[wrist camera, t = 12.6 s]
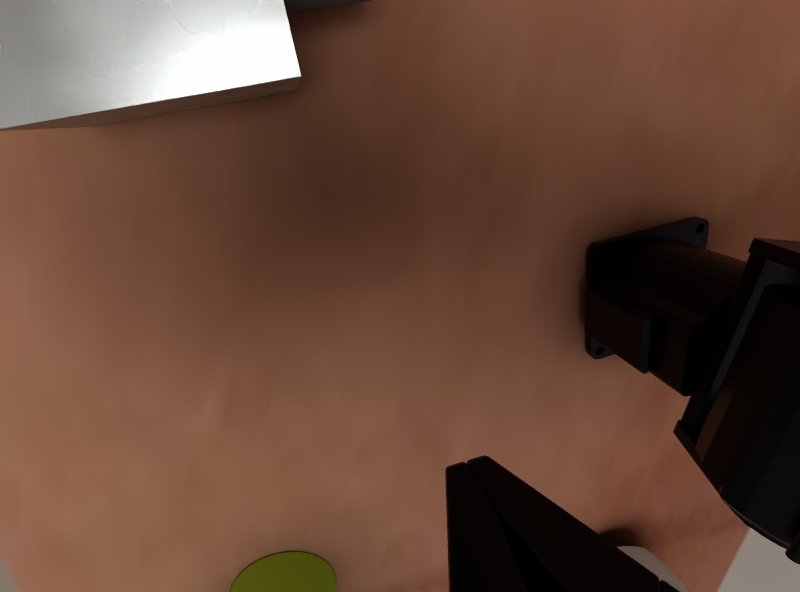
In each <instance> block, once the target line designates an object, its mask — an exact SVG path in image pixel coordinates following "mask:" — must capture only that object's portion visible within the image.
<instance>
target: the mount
mask: <svg viewBox="0 0 800 592" xmlns="http://www.w3.org/2000/svg"><path fill="white" fill-rule="evenodd" d="M300 79H301V73H300V69H299V65H298V60H297V56H296V52H295V48H294V43H293V39H292V35H291V31H290V27H289V22H288V18H287V14H286V10H285V5H284V1H283V0H0V131H6V130H29V129H52V128H74V127H95V126H101V125H107V124H112V123H118V122H123V121H129V120H134V119H140V118H146V117H151V116H157V115H162V114H168V113H174V112H179V111H185V110H190V109H196V108H201V107H207V106H213V105H218V104H224V103H229V102H235V101H240V100H246V99H252V98H257V97H263V96H268V95H274V94H280V93H285V92H291V91H296V90H298V86H299V82H300Z"/></svg>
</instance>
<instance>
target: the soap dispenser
mask: <svg viewBox="0 0 800 592" xmlns="http://www.w3.org/2000/svg"><path fill="white" fill-rule="evenodd" d="M230 592H337V590H336V580H335V574H334V571H333V569H332V567H331V566H330V565H329V564H328V563H327V562H326V561H325V560H324V559H322V558H320V557H318V556H316V555H313V554H309V553H304V552H284V553H279V554H274V555H271V556H268V557H265V558H263V559H260V560H258V561H257V562H255V563H253V564H251V565H250V566H249V567H247V568H246V569H245V570H244V571H243V572H241V574H240V575H239V576H238V577H237V578H236V580H235V581H234V583H233V585H232V588H231V591H230Z"/></svg>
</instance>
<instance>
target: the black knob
mask: <svg viewBox="0 0 800 592" xmlns="http://www.w3.org/2000/svg"><path fill="white" fill-rule="evenodd" d="M283 1H284V5H285V8H286V11H287V13H289V12H296V11H302V10H309V9H315V8H322V7H328V6H335V5H342V4H348V3H355V2H361V1H368V0H283Z"/></svg>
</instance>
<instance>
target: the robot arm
mask: <svg viewBox="0 0 800 592" xmlns="http://www.w3.org/2000/svg"><path fill="white" fill-rule="evenodd" d="M697 226H698V227H697ZM696 227H697V229H696ZM708 229H709V223H708V221H707V220H706V219H704V218H700V217H693V218H689V219H685V220H681V221H678V222H674V223H670V224H666V225H662V226H658V227H654V228H650V229H646V230H642V231H638V232H634V233H630V234H626V235H623V236H619V237H615V238H611V239H607V240H603V241H599V242H596V243H594V244H592V245H591V246H590V247H589V249H588V252H587V289H586V333H587V349H586V350H587V353H588V354H589V355H590V356H591V357H593V358H594V359H600V358H604V357H607V356H611V355H614V354H617V355H618V356H619V357H621V358H622V359H623V360H625V361H626V362H628V363H629V364H630V365H632V366H633V367H634V368H636V369H637V370H639V371H640V372H642V373H644V374H645V373H648V372H650V373H652V374H653V375H654V376H656V377H657V378H659V379H660V380H661V381H663V382H664V383H666V384H667V385H669V386H670V387H671V388H673V389H674V390H676V391H677V392H678V393H680V394H681V395H683V396H690V395H691V397H690V399H689V402H688V404H687V406H686V409H685V411H684V414H683V416H682V418H681V420H678V421H677V424H676V426H675V429H674V431H673V432H674V434H675V435H676V437H677V438H678V439H679V441H680V442H681V443H682V445H683V446H684V447H685V449H686V450H687V451H688V453H689V454H690V455H691V457H692V458H693V460H694V461H695V462H696V464H697V465H698V466H699V468H700V469H701V470H702V472H703V473H704V474H705V476H706V477H707V478H708V480H709V481H710V482H711V484H712V485H713V486H714V488H715V489H716V490H717V492H718V493H719V495H720V497H721V498H722V500H723V501H724V502H725V503H726V504H727V505H728V506H729V507H730V509H731V510H732V511H733V512H734V513H735V514H736V515H737V516H738V517H739V518H740V519H741V520H742V521H743V522H744V523H745V524H746V525H747V526H749V527H751V528H752V529H754V530H755V531H757V532H758V533H759V534H761V535H762V536H764V537H765V538H767V539H769V540H770V541H772V542H774V543H776V544H777V545H779V546H781V547H783V548H785V549H787V550H786V552H785V554H786V556H787V557H788V558H789V559H791V560H792V561H793V562H795V563H798V564H800V242H798V241H787V240H775V239H764V238H754V239H753V241H752V243H751V246H750V248H749V251H748V252H750V256H749V258H748V261H747V262H745V261H742V260H739V259H735V258H732V257H729V256H726V255H723V254H720V253H716V252H713V251H710V250H707V249H706V245H707V237H708ZM599 250H601V253H600V254H599V256H597V253H598V251H599ZM598 347H599V348H598ZM597 348H598V350H596V349H597ZM445 474H446V506H447V538H448V570H449V592H680V591H678V590H677V589H676V588H674V587H673V586H671V585H670V584H669V583H667V582H666V581H664V580H660V581H659V578H658V576H657V575H656V574H654V573H653V572H651V571H650V570H648V569H647V568H646V567H644V566H643V565H641V564H640V563H639V562H637V561H636V560H634V559H633V558H631V557H630V556H629V555H627V554H626V553H624V552H623V551H622V550H620V549H619V548H617V547H616V546H614V545H613V544H612V543H610V542H609V541H607V540H606V539H605V538H603V537H602V536H600V535H599V534H597V533H596V532H595V531H593V530H592V529H590V528H589V527H588V526H586V525H585V524H583V523H582V522H580V521H579V520H578V519H576V518H575V517H573V516H572V515H571V514H569V513H568V512H566V511H565V510H563V509H562V508H561V507H559V506H558V505H556V504H555V503H554V502H552V501H551V500H549V499H548V498H546V497H545V496H544V495H542V494H541V493H539V492H538V491H537V490H535V489H534V488H532V487H531V486H530V485H528V484H527V483H525V482H524V481H522V480H521V479H520V478H518V477H517V476H515V475H514V474H513V473H511V472H510V471H508V470H507V469H505V468H504V467H503V466H501V465H500V464H498V463H497V462H496V461H494V460H493V459H491V458H490V457H488V456H485V455H484V456H480V457H477V458H473V459H470V460H468V461H467V463H465V462H460V463H457V464H454V465H450V466H448V467H446V471H445Z"/></svg>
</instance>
